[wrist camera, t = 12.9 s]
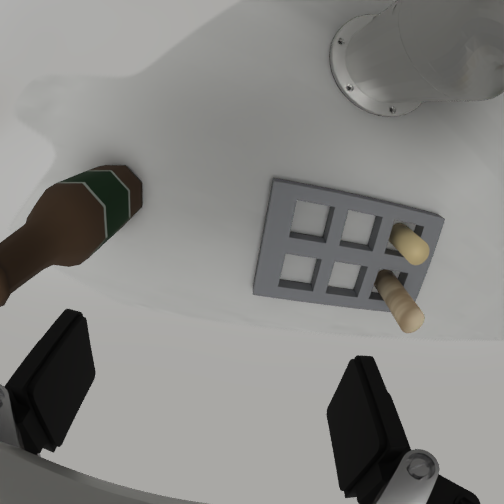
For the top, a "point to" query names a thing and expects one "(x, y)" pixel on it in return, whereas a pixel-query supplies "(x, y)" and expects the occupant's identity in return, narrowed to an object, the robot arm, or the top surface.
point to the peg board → (343, 247)
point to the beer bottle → (69, 224)
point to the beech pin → (399, 301)
